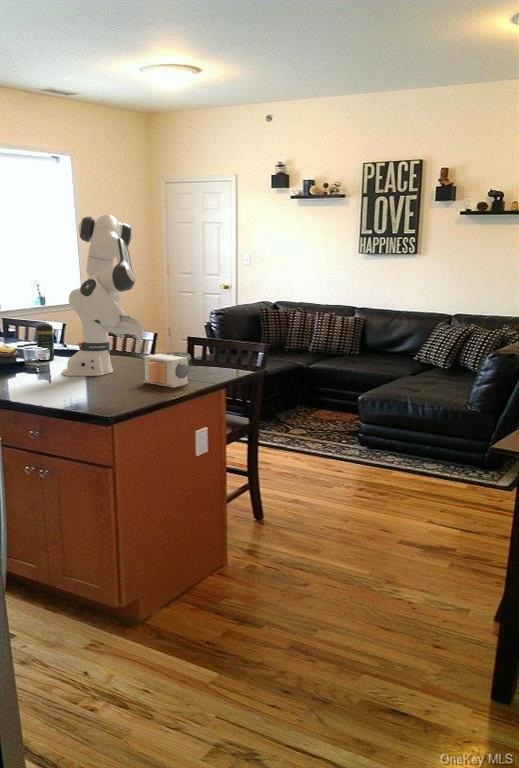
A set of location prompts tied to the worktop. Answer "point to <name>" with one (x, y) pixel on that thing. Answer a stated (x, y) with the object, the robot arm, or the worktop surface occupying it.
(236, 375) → the worktop surface
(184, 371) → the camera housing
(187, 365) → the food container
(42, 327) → the coffee jar
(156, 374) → the side door
